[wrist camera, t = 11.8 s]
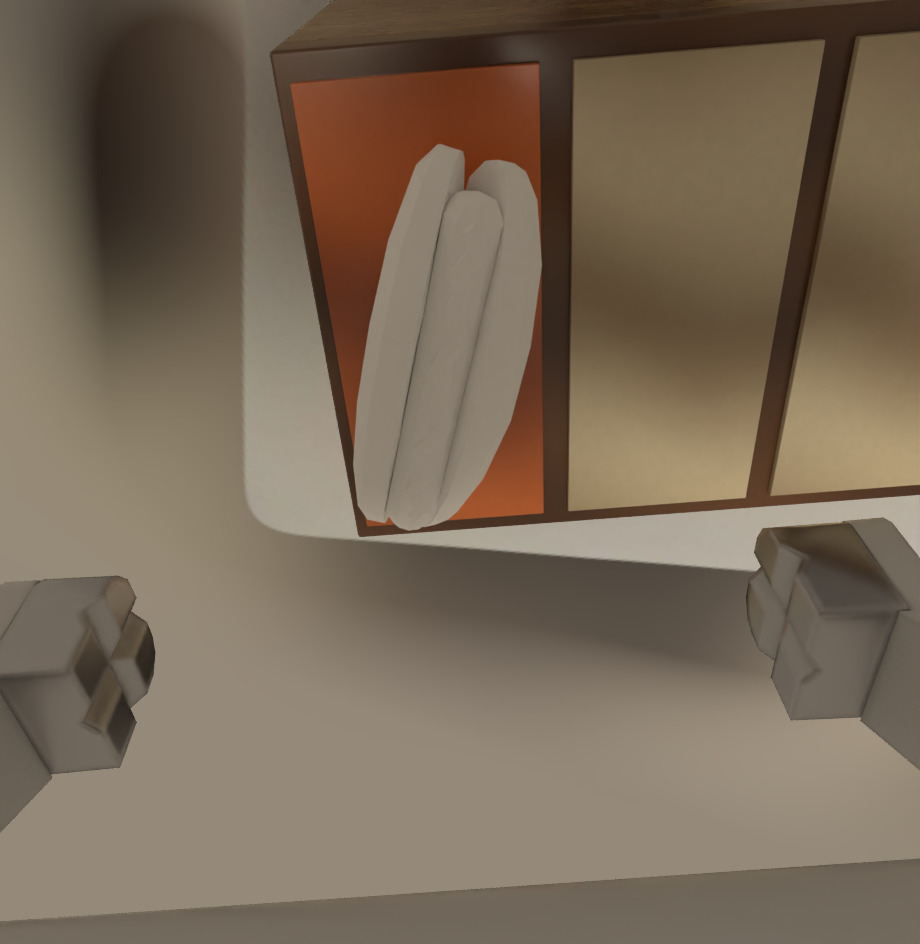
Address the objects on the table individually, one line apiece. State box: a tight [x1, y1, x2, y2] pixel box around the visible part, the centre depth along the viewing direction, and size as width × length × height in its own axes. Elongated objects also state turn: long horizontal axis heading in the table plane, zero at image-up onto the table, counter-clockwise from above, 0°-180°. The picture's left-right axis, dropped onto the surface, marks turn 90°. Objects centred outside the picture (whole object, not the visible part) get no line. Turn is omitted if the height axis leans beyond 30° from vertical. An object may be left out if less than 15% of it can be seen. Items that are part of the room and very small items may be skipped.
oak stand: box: [281, 0, 803, 44], centre depth 26 cm, size 11×15×20 cm
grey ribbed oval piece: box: [353, 144, 542, 531], centre depth 15 cm, size 3×8×3 cm, turn 168°
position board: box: [270, 0, 920, 537], centre depth 17 cm, size 11×15×1 cm
